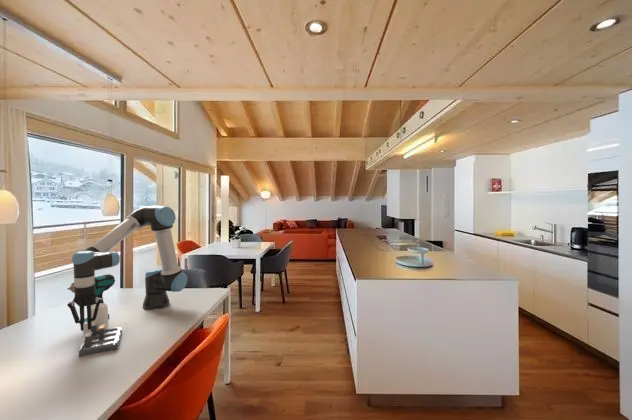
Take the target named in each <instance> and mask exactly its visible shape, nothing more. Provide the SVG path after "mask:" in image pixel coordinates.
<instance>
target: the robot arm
mask: <svg viewBox="0 0 632 420" xmlns="http://www.w3.org/2000/svg"><path fill="white" fill-rule="evenodd" d="M175 221H176V214H175V210H174V209H172V208H171V207H170V206H168V205H166V206H165V205H147V206H142V207H139V208H137V209H136V210H134V211H133V212H131V213H130V214H128V215H127V216H126V217H125V219H124V220H123V221H122V222H121V223H119V224H118V225H117V226H115V227H114V228H113V229H112V230H110V231H109V232H107V233H106V234H105V235H104V236H102V237H101V238H99V239H98V240H97V241H95V242H94V243H92V244H91V245H89V247H87V248H86V249H85V250H79V251H76V252H75V253H74V254H72V257H71V262H72V263H73V283H74V286H75V288H74V292H75V293H74V292H73V293H74V297H73V300H72V301H69V302H68V303H67V304H66V305H67V307H68V308H69V310H70V312H71V314H72V317H73V318H72V319H73V320H74V323H75V324H79V326H80V331H81V332H82V331H83V339H85V335H86V333H87V332H89V329H91V327H92V324H91V322H92V321H95V319H96V317H97V313H98V309H99V305H100V303H101V301H102V298H98V297H97V296H96V294H95V285H94V284H95V277H96V276H95V275H96V274H95V273H96V272H95V271H98V270H104V269H107V268H108V269H109V268H113V267H116V266H117V265H119V263H120V262H121V261H120V260H121V257H120V255H119V253H118V252H117V251H114V250H113V251H111V250H112V249H113V248H115V247H116V246H118V245H119V243H121V242H122V241H124V239H126V238H127V237H128V236H129V235H131V234H132V233H134V231H138V230H140V229H141V228H143V227H147V226H148V227H149V226H150V230H151V232H153V233H154V234H155V240H156V243H157V248H158V252H159V259H160V262H161V267H162V268H156V269H151V270H148V271H146V272H145V278H144V279H145V280H144V283H145V296H144V299H143V303H142V309H144V310H149V311H150V310H151V311H152V310H159V309H164V308H167V307H168V306H169V305H170V298H169V295H168V293H167V292H172V293H178V292H182V290H184V289H185V287H186V286H187V283H188V275H187V274H186V273H185V272H183V270H182V267H181V266H179V264H178V263H179V262H178V260H177V259H178V258H177V253H176V249H175V243H174V239H173V234H172V229H173V227H174V226H173V225H174V223H175ZM94 300H96V303H97V304H96V306H95V310H94V314H93V318H91V304H92V303H93V302H94ZM75 304H76V305H77V306H78V307H79V314H78V311H77V308H76V306H75ZM85 307H86V317H85ZM85 318H87V322H84V321H85Z"/></svg>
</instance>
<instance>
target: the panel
mask: <svg viewBox="0 0 632 420" xmlns="http://www.w3.org/2000/svg"><path fill="white" fill-rule="evenodd" d="M122 334H123V328H122V326H118V327H117V326H116V327H111V328H108V329H105V338H104V339H99V330H98V331H97V335H92V342H93V343H92V346H90V347H85V339H84V340H83V342H82V344H81V346H80V348H79V350H78V358H81V357H86V356H92V355H96V354H102V353H107V352H113V351H118V350H119V346H120V342H121V339H122V336H123V335H122Z"/></svg>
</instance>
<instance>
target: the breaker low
mask: <svg viewBox="0 0 632 420" xmlns="http://www.w3.org/2000/svg"><path fill="white" fill-rule="evenodd" d="M91 324H92V327H91V332H92V335H97V322H92V323H91Z"/></svg>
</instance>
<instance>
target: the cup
mask: <svg viewBox="0 0 632 420" xmlns="http://www.w3.org/2000/svg"><path fill="white" fill-rule="evenodd" d="M95 306H96V304H94V305H91V318H93V314H94V310H95ZM108 314H109V309H108V304H107V303H105V302H104V303H100V305H99V309H98V313H97V317H96V319H95V321H92V322H97V331H98V330H99V326H100V325H105V329H109V319H108ZM92 322H91V323H92ZM89 332H91V329H89Z"/></svg>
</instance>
